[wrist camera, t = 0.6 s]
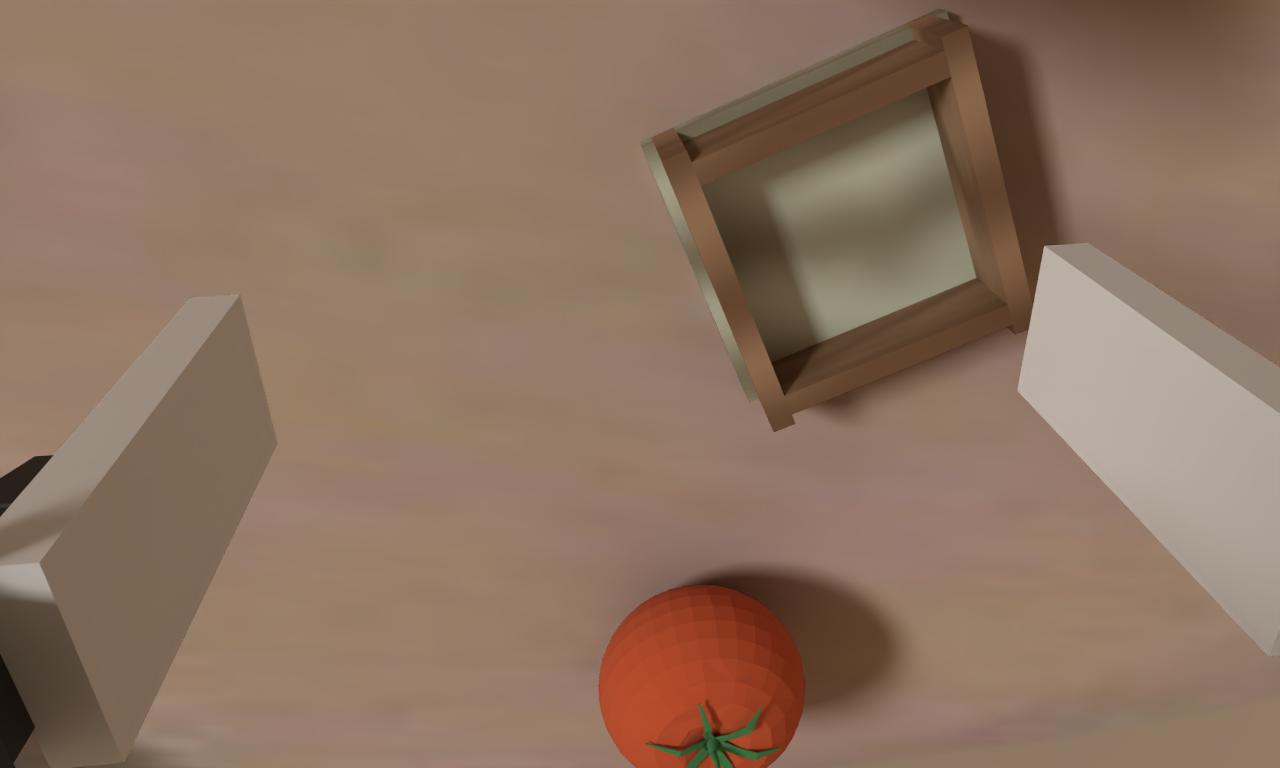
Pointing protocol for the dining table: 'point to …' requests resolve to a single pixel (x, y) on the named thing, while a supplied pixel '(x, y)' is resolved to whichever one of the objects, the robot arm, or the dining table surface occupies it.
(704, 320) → the dining table surface
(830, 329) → the walnut caddy
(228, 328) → the robot arm
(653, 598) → the tomato
